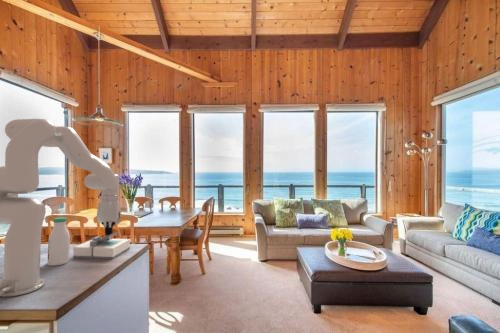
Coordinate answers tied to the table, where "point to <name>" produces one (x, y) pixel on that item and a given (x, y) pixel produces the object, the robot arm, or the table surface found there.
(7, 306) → the table surface
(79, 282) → the table surface
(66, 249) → the milk bottle
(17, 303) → the table surface
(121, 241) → the white boxy piece
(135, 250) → the table surface
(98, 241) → the lock flap
